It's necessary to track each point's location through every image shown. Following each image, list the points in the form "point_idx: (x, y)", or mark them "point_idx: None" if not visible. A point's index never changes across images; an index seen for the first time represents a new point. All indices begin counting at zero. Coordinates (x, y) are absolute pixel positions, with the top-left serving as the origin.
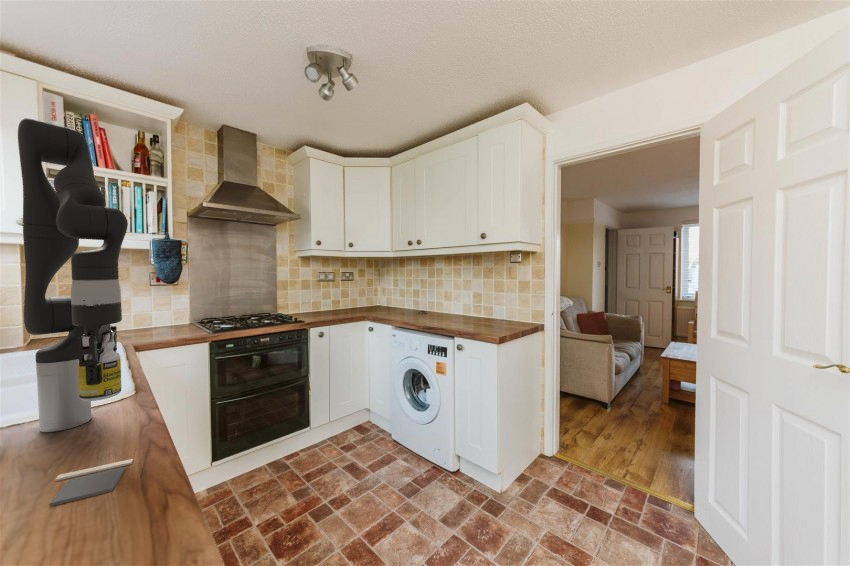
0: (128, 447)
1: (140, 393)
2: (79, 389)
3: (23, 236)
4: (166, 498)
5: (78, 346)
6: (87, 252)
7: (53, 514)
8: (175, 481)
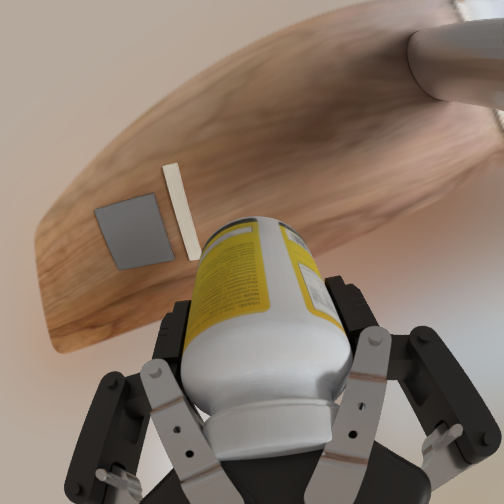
0: None
1: None
2: (218, 244)
3: None
4: (104, 324)
5: (74, 459)
6: None
7: (81, 225)
8: (133, 324)
